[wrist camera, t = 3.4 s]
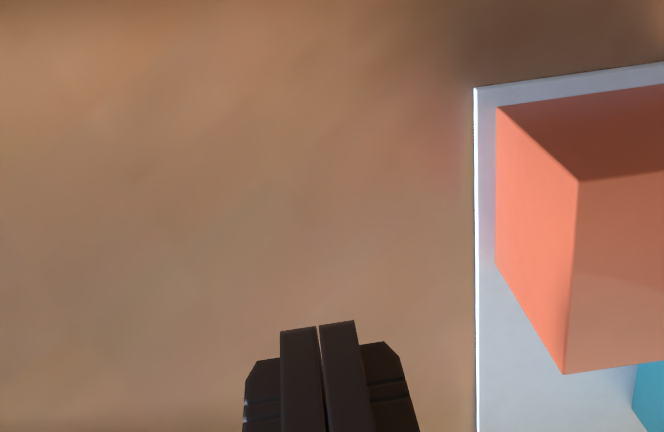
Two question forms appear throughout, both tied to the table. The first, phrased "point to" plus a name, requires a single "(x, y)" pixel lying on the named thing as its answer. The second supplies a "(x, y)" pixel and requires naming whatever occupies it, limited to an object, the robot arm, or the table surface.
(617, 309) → the terracotta block
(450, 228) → the table surface
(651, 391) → the teal block
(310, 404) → the robot arm
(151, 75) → the table surface
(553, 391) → the desk mat
